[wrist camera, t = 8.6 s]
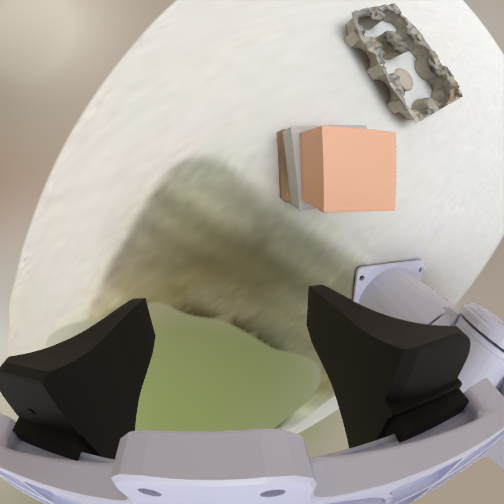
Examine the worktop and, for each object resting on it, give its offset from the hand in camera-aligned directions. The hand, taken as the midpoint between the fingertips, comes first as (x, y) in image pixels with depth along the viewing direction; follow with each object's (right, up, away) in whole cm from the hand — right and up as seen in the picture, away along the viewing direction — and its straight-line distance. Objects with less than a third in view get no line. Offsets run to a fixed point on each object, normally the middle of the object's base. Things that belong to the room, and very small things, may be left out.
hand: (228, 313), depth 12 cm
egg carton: (+13, +19, +6) cm, 24 cm away
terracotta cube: (+6, +8, +4) cm, 11 cm away
